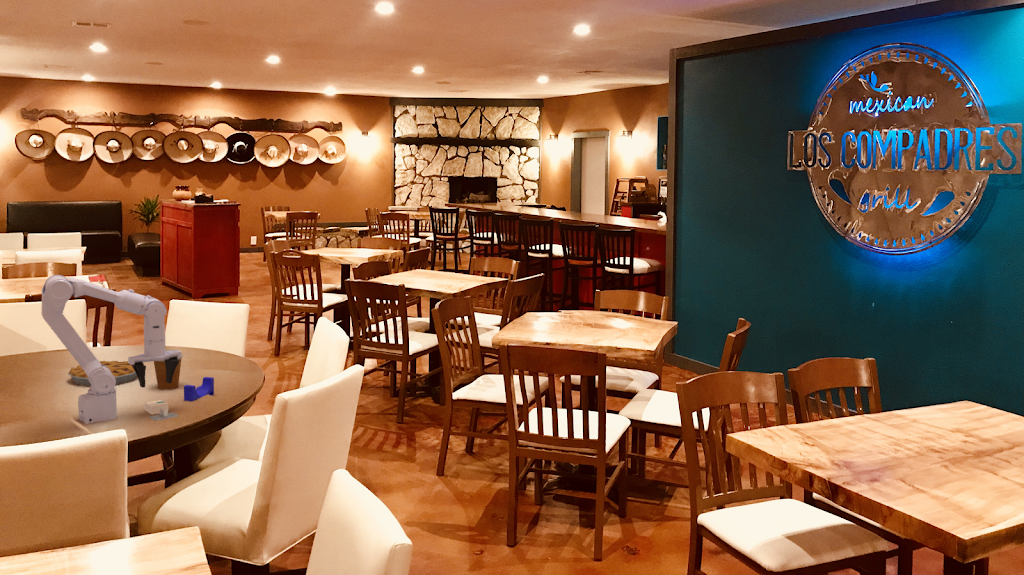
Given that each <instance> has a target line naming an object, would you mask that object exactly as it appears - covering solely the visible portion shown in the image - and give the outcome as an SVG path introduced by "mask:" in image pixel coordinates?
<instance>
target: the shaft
mask: <svg viewBox="0 0 1024 575" xmlns="http://www.w3.org/2000/svg"><path fill="white" fill-rule="evenodd" d="M168 410H169V409H168ZM168 410H167V409H165V408H160V413H159V415H160V416H162V417H163V418H165V417H168V413H169V412H168Z"/></svg>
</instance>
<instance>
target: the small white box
mask: <svg viewBox="0 0 1024 575" xmlns="http://www.w3.org/2000/svg"><path fill="white" fill-rule="evenodd" d="M160 408H165V409H167V410H168V413H170V412H169V403H168V402H166V401H165V400H163V399H159V400H153V401H147V402H144V412H146V413H147V414H150V415H151V416H153V415H159V414H160Z"/></svg>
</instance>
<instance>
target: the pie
mask: <svg viewBox="0 0 1024 575" xmlns="http://www.w3.org/2000/svg"><path fill="white" fill-rule="evenodd" d="M99 362H100V363H101V364H102V365H104V366H106V367H108V368H109V369H110V370H111V373H112V374H113V375H114V377H115V379H116V385H120V383H121V384H124V383H129V382H130V381H133V380H135V379H136V378H137V374H136V372H135V370H134V369H133V367H132V365H131V364H129V362H128V361H118V360H111V361H110V360H109V361H107V360H106V361H105V360H100V361H99ZM67 374H68V375H69V376H70V377H71V379H72V381H73V382H74V384H76V385H81V386H85V387H86V386H88V387H90V386H91V384H90V382H89V381H88V376H87V375H86V373H85V372H84V370H83V369H82V367H81V366H80V365H79V364H78V365H77V366H76V367H71V368H70V370H69V372H68V373H67Z"/></svg>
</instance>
